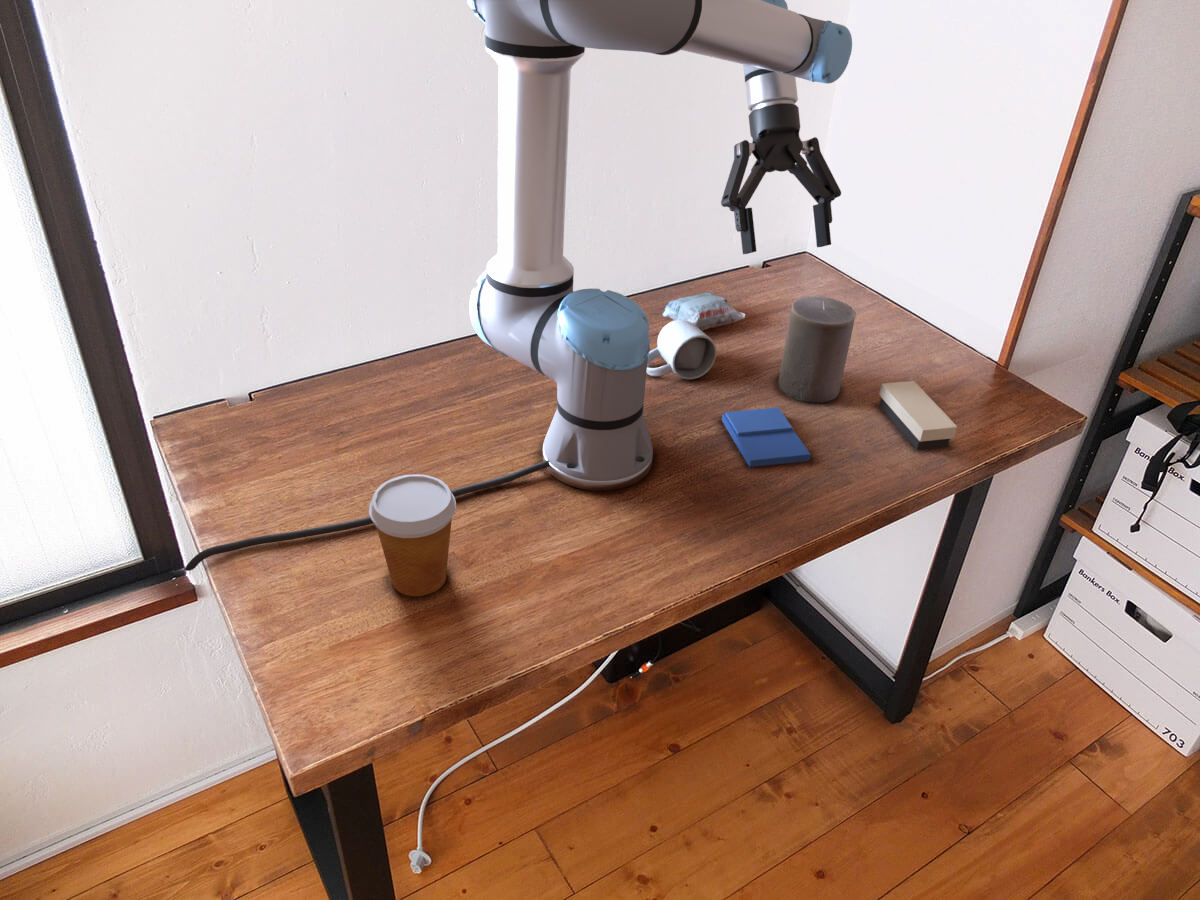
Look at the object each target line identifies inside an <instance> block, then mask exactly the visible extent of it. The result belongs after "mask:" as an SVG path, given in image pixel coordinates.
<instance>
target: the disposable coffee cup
mask: <svg viewBox="0 0 1200 900" xmlns="http://www.w3.org/2000/svg"><path fill="white" fill-rule="evenodd" d="M451 491H452V490H450V487H449V485H447V484H446V483H445V482H444V481H443V480H441V479H439V478H437V477H435V476H432V475H428V474H421V473H415V474H404V475H399V476H395V477H393V478H390V479H389V480H387V481H385V482H383V483H382V484H380V485H379V486H378V487H377V489H375V491H374V493H373V495H372V499H371V501H370V502H369V505H368V514H369V517H370V518H371V520H372V521H373V522H374V523H373V524H374V526H375V528H376V531H377V534H378V537H379V541H380V545H381V549H382V552H383V555H384V559H385V563H386V566H387V569H388V573H389V576H390V580H391V585H392V586H393V588H394V589H395V590H396V591H397V592H399V593H401V594H402V595H404V596H409V597H422V596H427V595H430V594H433V593H435V592H437V591H438V590H439V589H441V587H442V586H443V585H444V584H445V582H446V579H447V571H448V561H449V551H450V542H451V532H452V531H451V529H452V521H453V517H454V514H455V512H456V509H457V502H456V497H454V496H453V494H452V493H451Z"/></svg>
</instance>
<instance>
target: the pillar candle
mask: <svg viewBox="0 0 1200 900" xmlns="http://www.w3.org/2000/svg"><path fill="white" fill-rule="evenodd" d="M856 317H857V311H856V310H855V309H853V307H852V306H851V305H849V304H848V303H846V302H843V301H841V300H840V299H837V298H831V297H828V296H824V295H818V296H817V295H809V296H804V297H800V298H797V299H795V301H793V303H792V304H791V309H790V312H789V318H788V324H787V330H786V335H785V342H784V346H783V352H782V357H781V358H782V359H781V363H780V369H779V370H780V371H779V376H778V381H777V384H778V387H779V389H780V390H781V392H783V393H784V394H785V395H786V396H788V397H789V398H791V399H793V400H797V401H801V402H805V403H814V404H815V403H816V404H818V403H820V404H821V403H827V402H830V401H833V400H834V399H836V398H837V397H838V396H839V394H840V391H841V386H842V381H843V377H844V373H845V367H846V363H847V359H848V354H849V348H850V344H851V340H852V334H853V329H854V325H855V320H856Z"/></svg>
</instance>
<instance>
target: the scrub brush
mask: <svg viewBox="0 0 1200 900" xmlns="http://www.w3.org/2000/svg"><path fill="white" fill-rule="evenodd" d="M878 395H879V397H880V401H879V405H878V406H879V407H880V409H881V410H882V411H883V412H884V413H885V414H886V416H887V417H888V418H889V419H890V420H891V422H892V423H893V424H894V425H895V426H896V428H898V430H899V431H900V432H901V434H903V436H904V437H905V438H906V439H907V440H908V441H909V443H910V444H911V445H912V447H914V448H915V450H917V451H918V450H929V449H939V448H947V447H949V444H950V441H951V439H955V436H956V433H957V430H958V426H957V425H956V423H954V422H953V420H952V419H951V418H950V417H949V416H948V415H947V413H945V412H944V411H943V410H942V409H941V408H940V407H939V406H938V404H937V403H935V401H934V400H933V399H932V398H931V397H930V396H929V395H928V394H927V393H926V391H925V390H923V389H922V388H921V387H920V385H918V384H917V382H915V381H914V380H910V381H907V380H906V381H896V382H884V383H881V384H880V388H879V393H878Z"/></svg>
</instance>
